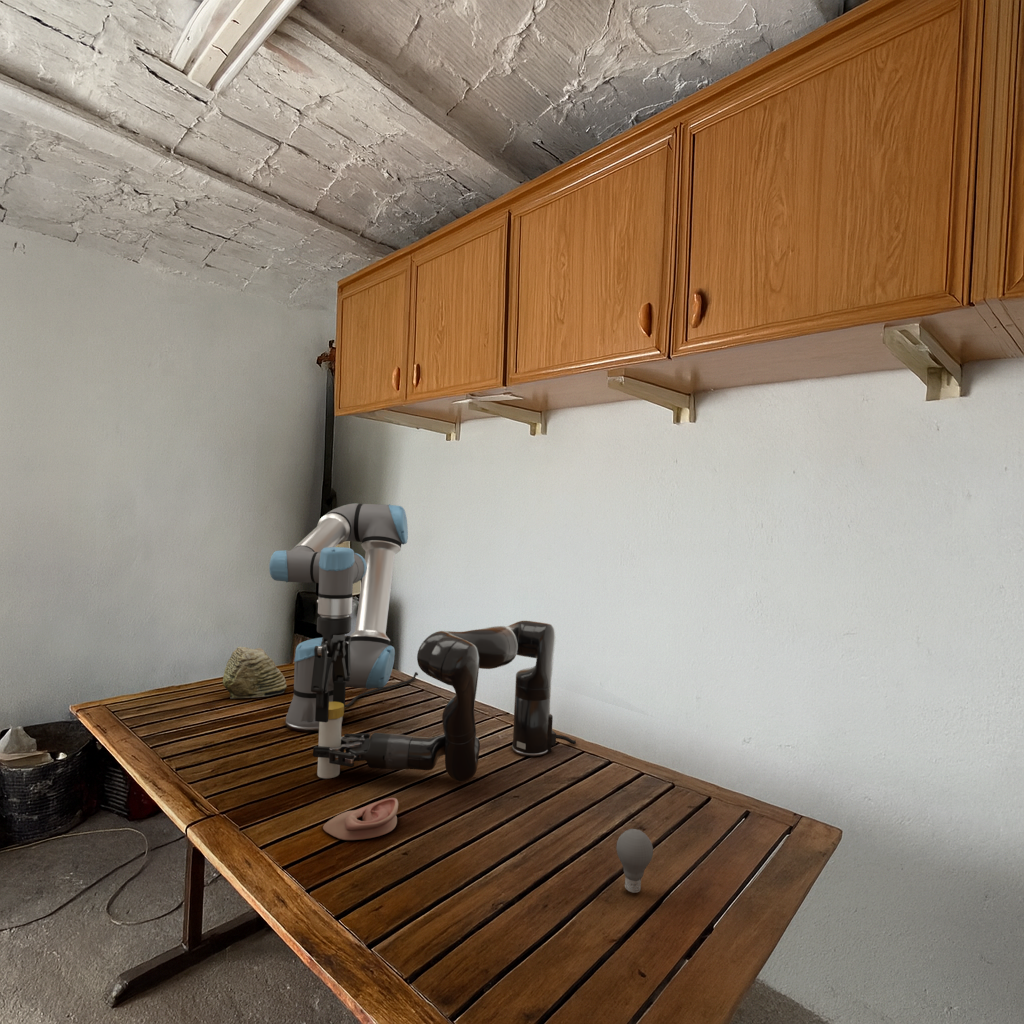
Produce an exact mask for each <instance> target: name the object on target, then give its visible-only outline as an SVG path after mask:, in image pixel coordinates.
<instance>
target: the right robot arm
mask: <svg viewBox="0 0 1024 1024" xmlns="http://www.w3.org/2000/svg"><path fill="white" fill-rule="evenodd" d="M556 641H557V639H556V630H555V626H553V624H551V623H549V622H543V621H542V622H541V621H534V620H519V621H517V622H514V623H512V624H509V625H496V626H488V627H484V628H478V629H477V628H476V629H471V630H464V631H454V630H453V631H451V630H438V631H435V632H433V633H431V634H430V635H428V636H427V637H426V638H425V639H424V640H423V641H422V643H421V645H420V646H419V648H418V650H417V655H416V661H417V665H418V668H419V669H420V670H421V671H422V672H423V673H424V674H426V675H427V676H428V677H430V678H433V679H434V680H437V681H439V682H441V683H443V684H445V685H447V686H451V687H452V688H453V689H454V693H455V694H454V696H453V697H451V699H450V700H449V701H448V702H447V703H446V705H445V706H444V708H443V711H442V717H441V721H442V723H441V724H442V730H443V734H439V735H436V736H431V737H429V736H428V737H426V736H412V735H408V734H399V733H386V732H385V733H384V732H383V733H382V732H373V733H372V734H371V733H369V732H365V733H362V732H361V733H344V734H343V735H341V746H340V747H331V748H330V747H323V746H318V745H315V746H314V747H313V749H312V756H313V757H314V758H318V757H322V758H329V763H331V764H337V765H340V766H343V767H348V768H353V767H355V762H361V761H362V762H364V761H366V763H367V766H368V767H369V769H380V770H396V771H400V770H401V771H403V770H414V771H415V770H416V771H432V770H434V768H435V767H436V765H437V763H438V760H439V759H440V758H441V757H443V756H444V765H445V766H444V767H445V771H446V773H447V775H448V776H449V777H450V778H451V779H452V780H454V781H456V782H461V783H464V782H467V781H470V780H471V779H473V777H474V776H475V775H476V773H477V770H478V765H479V758H480V750H481V749H480V748H481V742H480V739H479V738H478V736H477V725H476V716H475V713H476V712H475V706H476V697H477V691H478V682H479V681H478V680H479V673H480V670H481V669H482V670H493V669H497V668H501V667H504V666H507V665H509V664H510V663H511V662H513V661H514V660H515V658H516V657H517V656H519V657H524V658H525V657H526V658H530V659H535V664H534V666H531V667H525V668H522V669H520V670H518V671H517V672H516V674H515V683H514V684H515V686H514V690H515V691H514V709H513V731H512V745H511V749H512V751H513V752H514V753H515V754H517V755H520V756H524V757H530V758H531V757H533V758H534V757H541V756H545V755H546V754H549V753H551V752H552V747H553V746H557V739H558V740H563V741H566V742H568V743H569V744H572V745H576V744H577V741H576V740H574V739H572V738H570V737H568V736H565V735H561V734H557V732H555V731H554V730H553V721H554V719H553V718H554V716H553V714H552V713H551V696H552V695H551V693H552V692H551V691H552V679H553V678H552V677H553V673H554V672H553V670H554V661H555V660H554V659H555V649H556ZM339 751H340V752H339ZM335 755H336V756H335Z"/></svg>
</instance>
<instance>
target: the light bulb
mask: <svg viewBox="0 0 1024 1024" xmlns="http://www.w3.org/2000/svg"><path fill="white" fill-rule="evenodd" d="M615 849H616V854H617V857H618V859H619V861H620V863H621V865H622V867H623V873H624V874H623V875H624V876H625V878H624V888H625V890H627V891H628V892H630V893H634V894H635V893H639V892H640V891H641V889H642V887H641V886H642V879H643V877H644V875H645V871H646V868H647V867H648V866H649V864H650V863H651V861H652V859H653V855H654V847H653V843H652V841H651V838H649V836H648V835H647V834H646V833H645V832H643V831H642V830H641V829H636V828H629V829H627V830H625V831H623V832H622V833H621V834H620V835H619V837H618V839H617V841H616V847H615Z"/></svg>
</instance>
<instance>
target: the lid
mask: <svg viewBox="0 0 1024 1024" xmlns="http://www.w3.org/2000/svg"><path fill="white" fill-rule="evenodd" d="M344 715H345V710H344V704H343V703H340V702H329V712H328V719H337V718H340V717H342V716H343V717H344Z"/></svg>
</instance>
